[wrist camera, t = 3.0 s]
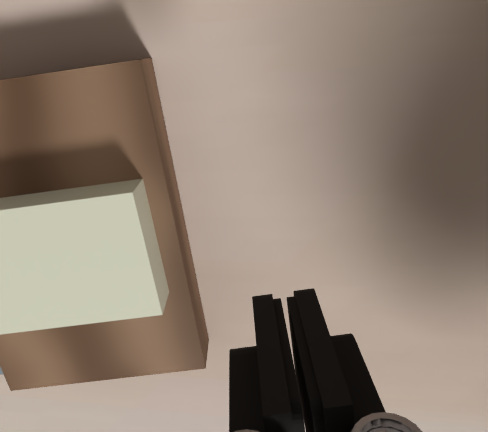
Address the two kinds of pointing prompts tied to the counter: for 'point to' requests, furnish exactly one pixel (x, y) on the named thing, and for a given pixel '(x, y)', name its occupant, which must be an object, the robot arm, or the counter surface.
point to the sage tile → (79, 258)
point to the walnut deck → (94, 173)
